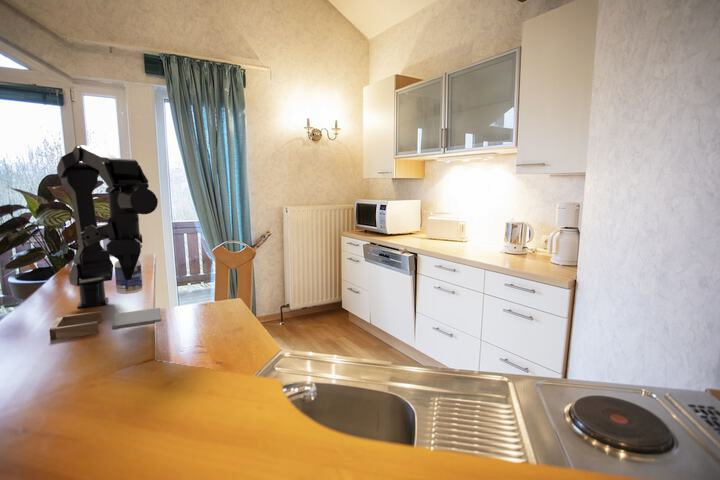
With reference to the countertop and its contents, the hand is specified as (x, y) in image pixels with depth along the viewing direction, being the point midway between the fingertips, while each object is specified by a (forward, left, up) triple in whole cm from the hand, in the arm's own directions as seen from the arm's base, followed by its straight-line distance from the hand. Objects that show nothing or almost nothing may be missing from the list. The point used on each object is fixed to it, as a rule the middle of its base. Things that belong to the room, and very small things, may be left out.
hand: (128, 277), depth 88 cm
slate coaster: (-1, +1, -11) cm, 11 cm away
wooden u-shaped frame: (+1, -10, -11) cm, 15 cm away
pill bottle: (0, 0, -4) cm, 4 cm away
